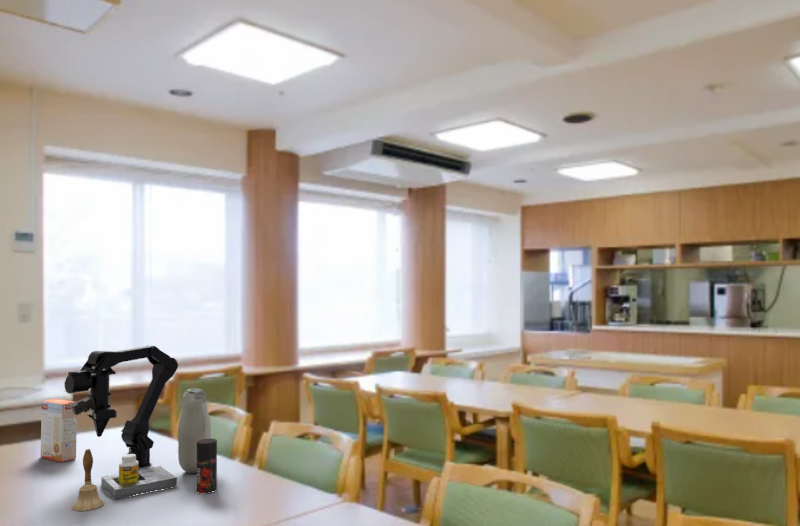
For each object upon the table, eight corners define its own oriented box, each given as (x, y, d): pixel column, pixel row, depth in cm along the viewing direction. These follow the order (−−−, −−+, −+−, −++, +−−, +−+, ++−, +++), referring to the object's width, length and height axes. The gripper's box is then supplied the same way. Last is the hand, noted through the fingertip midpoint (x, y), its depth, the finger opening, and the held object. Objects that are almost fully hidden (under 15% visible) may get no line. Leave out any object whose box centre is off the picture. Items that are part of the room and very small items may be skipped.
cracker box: (77, 459, 224) (78, 401, 225) (60, 463, 219) (61, 403, 220) (56, 453, 231) (57, 397, 232) (39, 457, 226) (40, 400, 227)
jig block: (159, 475, 204) (160, 465, 204) (176, 487, 192) (176, 477, 192) (101, 486, 193) (101, 476, 193) (115, 500, 180) (115, 489, 180)
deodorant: (220, 488, 190) (220, 439, 191) (208, 494, 185) (209, 444, 185) (204, 486, 192) (204, 438, 193) (192, 492, 187) (192, 442, 187)
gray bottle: (216, 469, 210) (216, 387, 211) (194, 478, 200) (194, 391, 202) (193, 466, 214) (194, 385, 215) (171, 474, 205) (172, 389, 206)
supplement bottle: (120, 493, 186) (120, 458, 187) (117, 488, 191) (117, 454, 192) (139, 489, 189) (140, 456, 190) (136, 484, 194) (136, 452, 195)
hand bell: (70, 513, 170) (71, 454, 171) (73, 503, 178) (73, 447, 178) (103, 508, 173) (104, 451, 174) (104, 499, 181) (105, 444, 182)
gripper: (66, 388, 206) (66, 435, 206) (79, 395, 192) (78, 446, 191) (102, 384, 213) (102, 430, 213) (117, 391, 199) (116, 440, 198)
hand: (99, 436), depth 204 cm, fingers closed
